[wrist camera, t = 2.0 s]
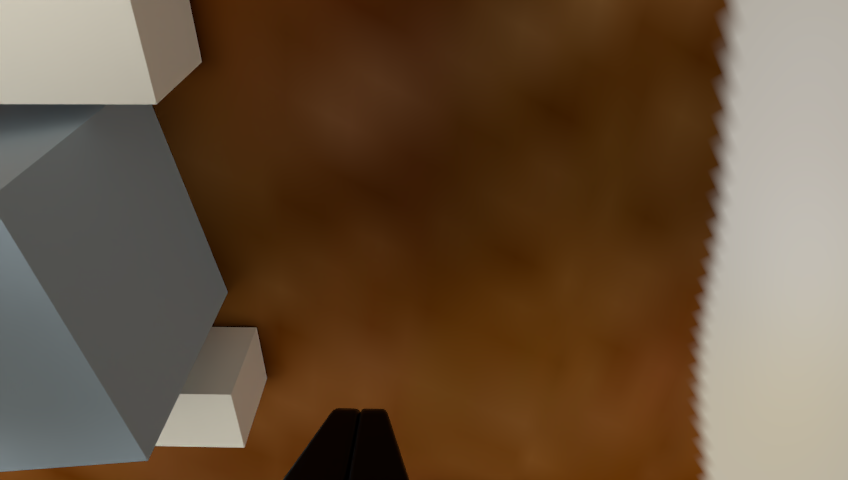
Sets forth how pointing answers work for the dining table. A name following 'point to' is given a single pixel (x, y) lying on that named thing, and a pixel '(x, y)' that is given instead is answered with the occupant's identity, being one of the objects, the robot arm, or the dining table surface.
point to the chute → (134, 84)
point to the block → (95, 284)
